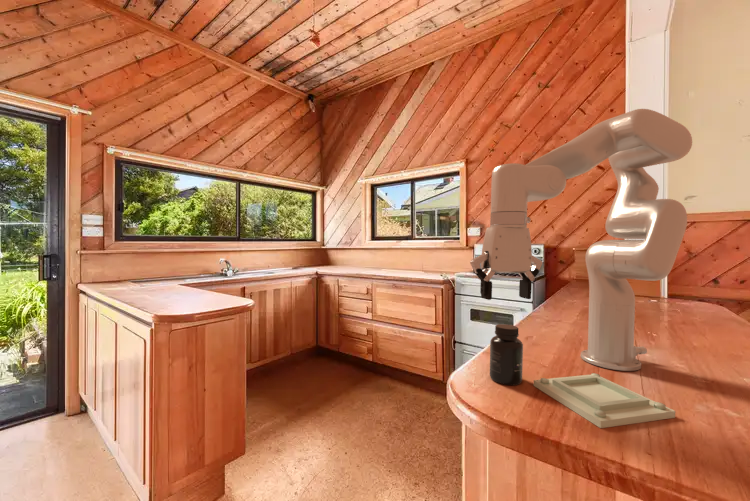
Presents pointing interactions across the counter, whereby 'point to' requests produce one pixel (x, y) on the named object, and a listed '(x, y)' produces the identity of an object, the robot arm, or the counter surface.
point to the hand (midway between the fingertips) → (505, 298)
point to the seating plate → (603, 400)
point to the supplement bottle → (506, 355)
